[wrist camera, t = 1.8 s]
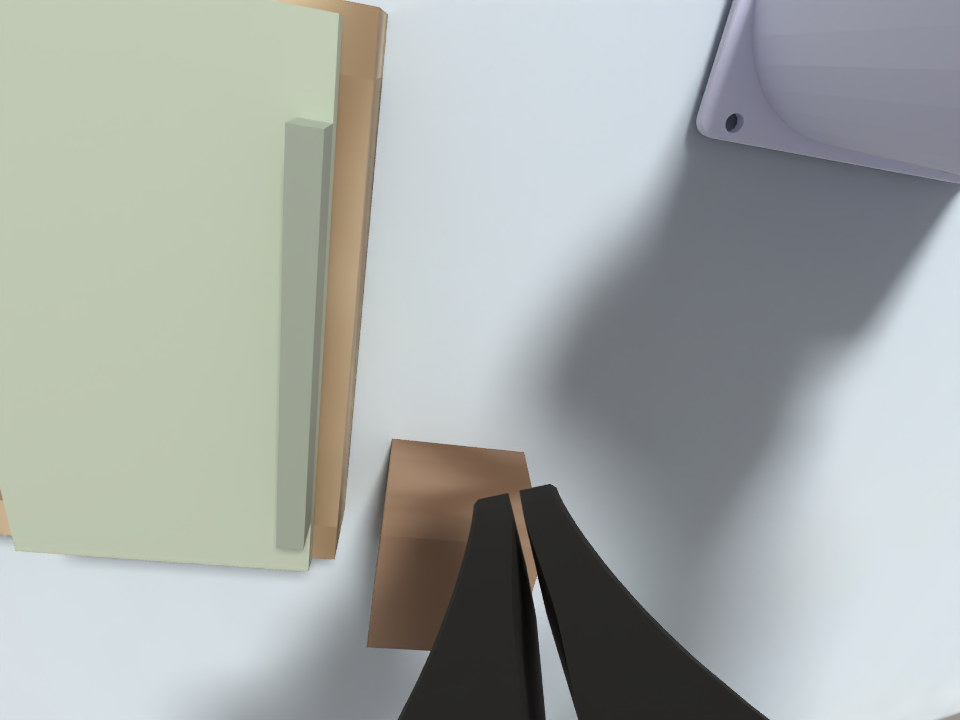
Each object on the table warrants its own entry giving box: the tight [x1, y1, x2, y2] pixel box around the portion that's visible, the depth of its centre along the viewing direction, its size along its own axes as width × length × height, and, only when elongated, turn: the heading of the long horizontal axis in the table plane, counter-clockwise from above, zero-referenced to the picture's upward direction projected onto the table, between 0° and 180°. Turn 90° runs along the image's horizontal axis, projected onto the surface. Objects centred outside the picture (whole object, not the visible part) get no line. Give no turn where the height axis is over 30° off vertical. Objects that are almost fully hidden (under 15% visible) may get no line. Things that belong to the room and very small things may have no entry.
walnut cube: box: [367, 439, 537, 651], centre depth 21 cm, size 5×5×5 cm
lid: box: [0, 0, 343, 571], centre depth 15 cm, size 9×16×2 cm, turn 170°
